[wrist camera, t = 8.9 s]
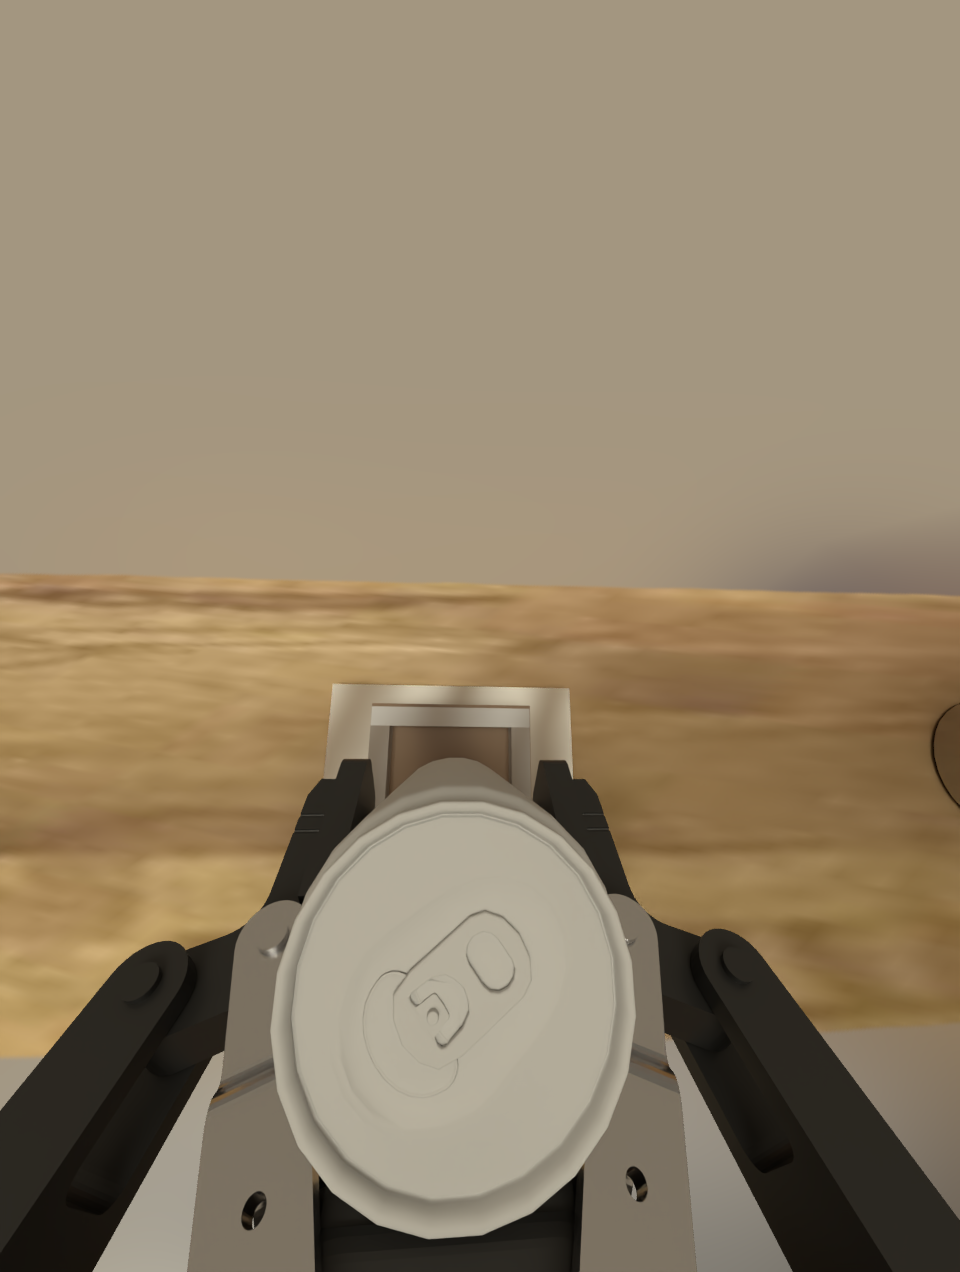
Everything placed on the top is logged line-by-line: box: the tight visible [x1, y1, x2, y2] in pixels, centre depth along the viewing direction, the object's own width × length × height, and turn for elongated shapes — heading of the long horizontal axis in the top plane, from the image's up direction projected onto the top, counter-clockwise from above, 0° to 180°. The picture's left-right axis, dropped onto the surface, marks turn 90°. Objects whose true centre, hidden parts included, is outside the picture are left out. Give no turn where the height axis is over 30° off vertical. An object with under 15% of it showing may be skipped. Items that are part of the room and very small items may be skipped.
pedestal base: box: [323, 684, 573, 808], centre depth 24 cm, size 16×12×7 cm
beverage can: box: [270, 758, 636, 1239], centre depth 11 cm, size 5×5×12 cm
